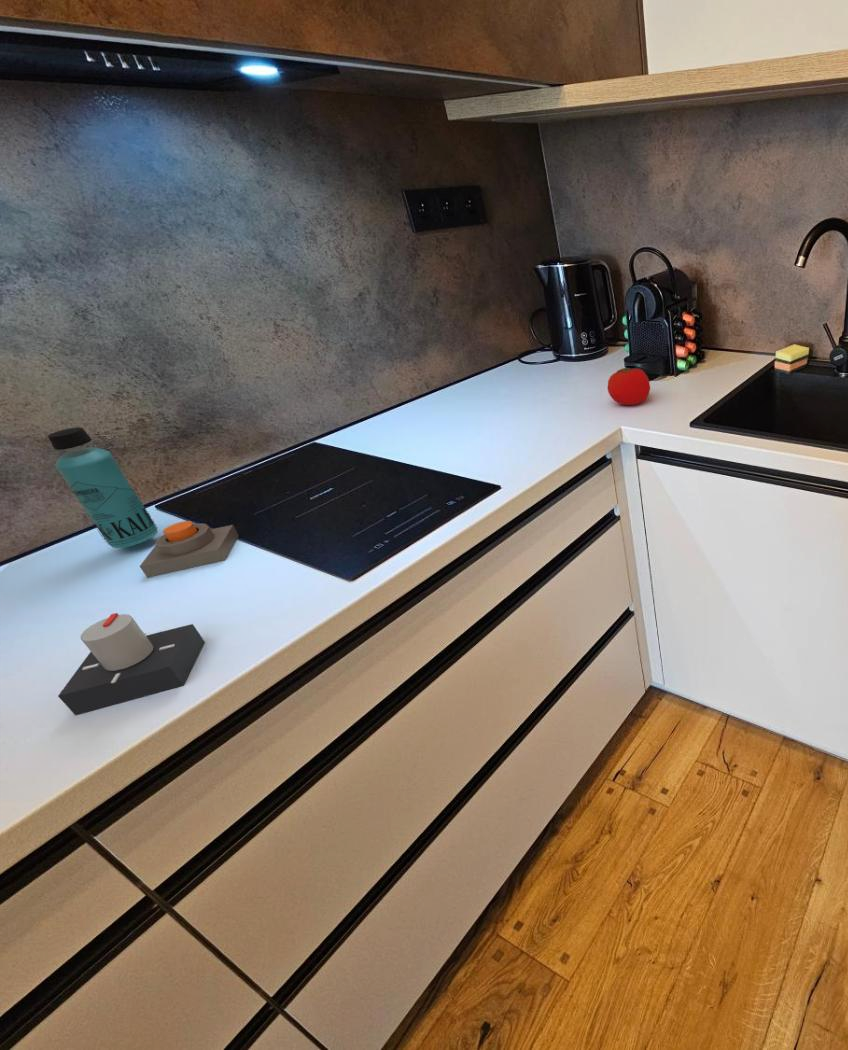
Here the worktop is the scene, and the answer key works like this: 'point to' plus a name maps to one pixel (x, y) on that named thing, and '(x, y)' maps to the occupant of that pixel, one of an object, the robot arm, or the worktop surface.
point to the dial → (117, 642)
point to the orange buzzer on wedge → (190, 550)
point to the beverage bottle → (102, 490)
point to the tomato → (629, 386)
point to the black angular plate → (135, 672)
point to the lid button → (180, 531)
